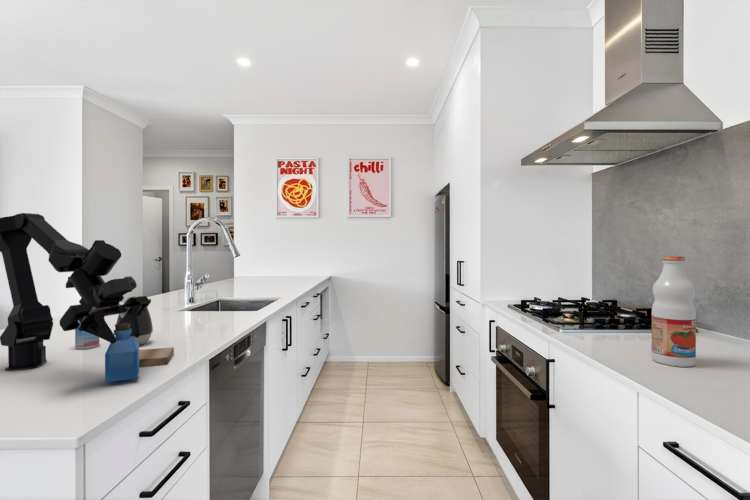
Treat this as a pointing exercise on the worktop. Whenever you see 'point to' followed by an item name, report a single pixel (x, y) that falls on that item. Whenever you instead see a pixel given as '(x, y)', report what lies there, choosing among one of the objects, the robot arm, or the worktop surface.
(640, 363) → the worktop surface
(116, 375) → the perfume bottle
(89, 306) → the robot arm
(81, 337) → the pill bottle
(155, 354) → the walnut block
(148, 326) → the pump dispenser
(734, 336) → the worktop surface
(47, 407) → the worktop surface
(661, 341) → the fruit juice
